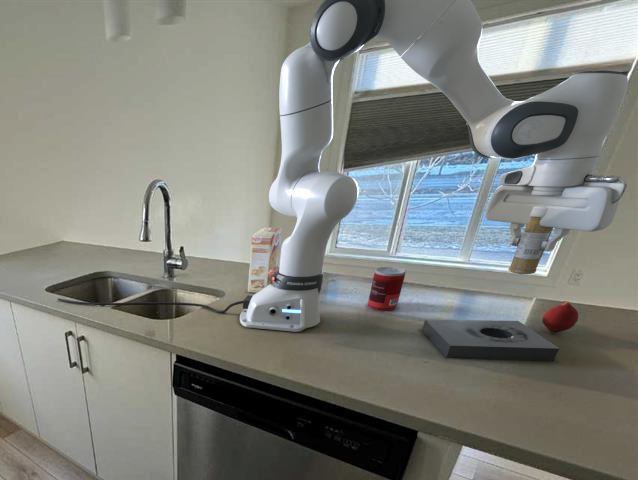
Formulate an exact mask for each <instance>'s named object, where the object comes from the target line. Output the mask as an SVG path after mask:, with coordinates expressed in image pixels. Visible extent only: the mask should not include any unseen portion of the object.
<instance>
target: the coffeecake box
mask: <svg viewBox="0 0 638 480" xmlns="http://www.w3.org/2000/svg"><path fill="white" fill-rule="evenodd" d="M282 232H283V227H262V228H261V229H259V230H257V231H256V232H255V233H253V234H252V235H251V245H250V258H249V271H248V282H247V283H248V284H247V293H253V294H256V293H258V292H259V291H261V290H262V289H264V288H265V287H267V286H268V285H270V279H271V278H270V277H269V271H270V270H275V271H276V272H277V271H278V269H279V260H280V251H281V241H282Z"/></svg>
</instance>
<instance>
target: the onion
mask: <svg viewBox="0 0 638 480" xmlns="http://www.w3.org/2000/svg"><path fill="white" fill-rule="evenodd" d="M578 320H579V311H577V309H576V307H574V306H573V305H572V304H571V303H570V301H568V300H564V301H562V304H558V305H554V306H552V307H551V308H549V309H548V310H546V312H545V313H544V314H543V316H542V324H543V325H544V327H545V328H546V329H547V330H548V331H549V333H552V334H557V333H561V332H564V331H567V330H570V329H571V328H573V327H574V326H575V325H576V324H577V322H578Z"/></svg>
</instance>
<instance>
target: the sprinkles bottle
mask: <svg viewBox="0 0 638 480" xmlns="http://www.w3.org/2000/svg"><path fill="white" fill-rule="evenodd" d="M547 209H548V208H547V207H533V209H532V211H531V214H530V216H532V217H531V221H530V222H529V223H528V224H527V225H526V224H525V226H524V228H523V231H522V232H521V234H522V236H521V239H520V241H519V244H518V246H516V248H515V251H514V254H513V258H512V260H511V263H510V266H509V267H508V272H510V273H512V274H518V275H532V274H535V273H536V272H537V269H538V266H539V263H540V261H541V258H542V257H543V255H544V253H545V251H544V250H540V247H541V246H542V245H541V244H542V242H543V241H547V240H550V238H551V234H552V233H553V231H554V228H553V227H544V226H540V220H541V219H542V218H541V217H544V216H545V214H546V212H547ZM533 217H534V218H533Z"/></svg>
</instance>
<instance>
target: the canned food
mask: <svg viewBox="0 0 638 480" xmlns="http://www.w3.org/2000/svg"><path fill="white" fill-rule="evenodd" d="M406 272H407V271H406V269H404V268H401V267H398V266H397V267H396V266H380V267H377V268H376V269H375V270H374V274H373V278H372V282H371V287H370V292H369V296H368V301H367V306H368V307H369V308H370V309H373V310H376V311H383V312H385V311H393V310H395V309H396V308H397V306H398V303H399V299H400V296H401V292H402V289H403V285H404V281H405V278H406Z"/></svg>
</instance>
